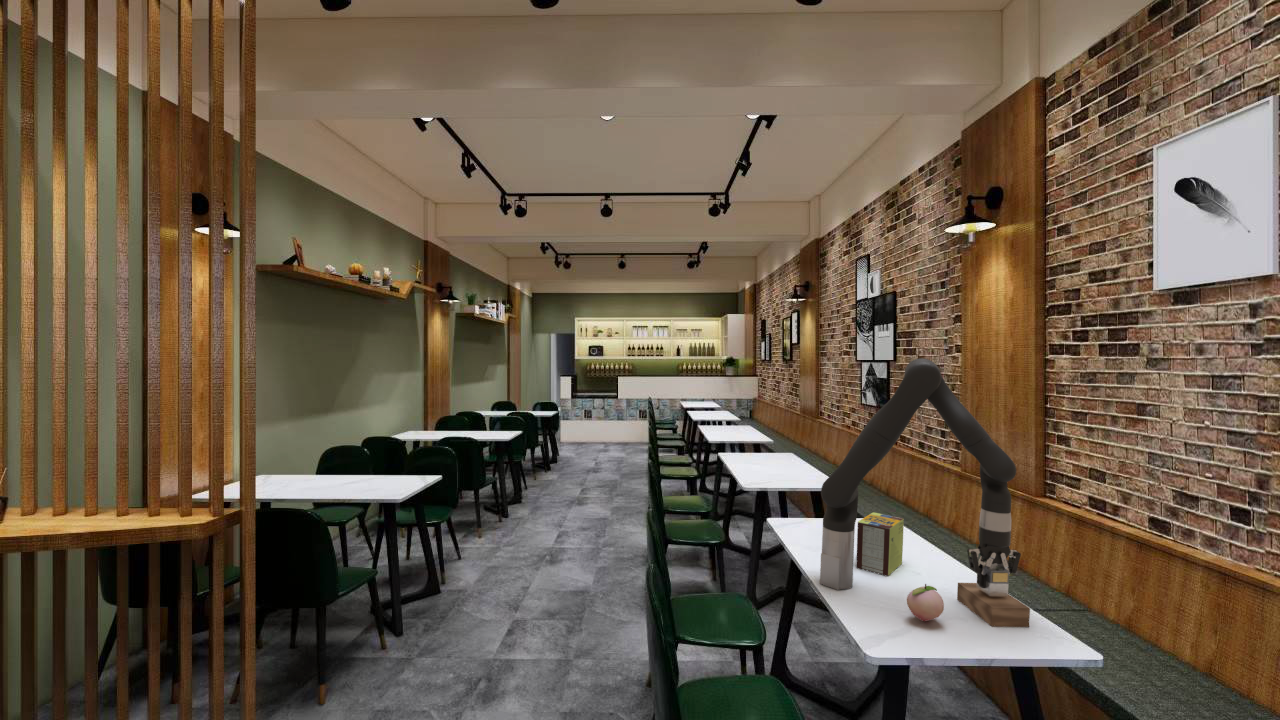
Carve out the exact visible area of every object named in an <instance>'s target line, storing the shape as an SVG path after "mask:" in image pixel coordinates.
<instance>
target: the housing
mask: <svg viewBox="0 0 1280 720" xmlns="http://www.w3.org/2000/svg"><path fill="white" fill-rule="evenodd" d="M985 563H986V561H985ZM978 564H979V562H978ZM982 568H983V566H982ZM985 575H986V588H981V587H980V586H979V585H978V584H977V586H976V587H977V588H979V589H980V590H982V591H983V592H984V593H986V594H987V595H989V596H1006V597H1008V594H1009V582H1010V581H1009V579H1010V575H1009V571H1008V570H1007V569H1004V568H1002V567H1001V566H999V565H997V563H995V564H991V566H990V568H987V572H986V574H985Z"/></svg>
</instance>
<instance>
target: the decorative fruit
mask: <svg viewBox="0 0 1280 720" xmlns="http://www.w3.org/2000/svg"><path fill="white" fill-rule="evenodd" d="M906 604H907V607H908V609H909V610H910V612H911V613H912V615H913V616H915V617H916V618H917V619H918V620H921V621H922V622H927V621H932V620H935V619H937V618H939V617H940V616H942V614H943V612H944V610H945V609H944V607H945V603H944V599H943V597H942V595H941V594H940V593H939V592H938V589H937V588H936V587H934V586H932V585H927V583H925V584H924V586H920V587H919V586H918V587H917V588H915V589H912V590H911V591H910V592H909V593H908V595H907V597H906Z"/></svg>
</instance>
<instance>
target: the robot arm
mask: <svg viewBox="0 0 1280 720" xmlns="http://www.w3.org/2000/svg"><path fill="white" fill-rule="evenodd" d="M903 374H904V375H903V378H902V380H901V382H900V384H899V385H898V387H897V388H896V391H894V394H893V395H892V397H891V398H890V399H889V400H888V401H887V402H886V403H884V405H883V406H882V407H881V408H880V409H878V410H877V411H876V413H874V415H873V416H872V417H871V418H870V419H869V421H868V422H867V423H866V424H865V426H864V428H863V429H862V430H861V432H860V433H859V434H858V437H856V439H855V441H854V442H853V444H852V446H851V447H850V449H849V451H848V453H847V454H846V456H845V457H844V459H843V460H842V462H841V463H840V464H839V465H838V466H837V468H836V469H835V470H834V471H833V472H832V473H831V474H830V476H829V477H828V478H826V479H825V481H824V482H823V483H822V485H821V488H820V489H821V490H820V495H821V498H822V500H823V502H824V504H825V505H826V509H825V513H824V515H823V518H822V538H821V541H822V542H821V553H820V567H819V568H820V569H819V571H820V574H819V584H820V585H822V584H823V586H826V587H828V588H831V589H834V590H837V591H840V590H848V589H851V588H852V587H853V582H854V555H855V554H854V553H855V534H856V533H855V531H856V529H855V527H856V521H857V518H858V517H857V516H858V506H859V485H861V482H862V480H864V478H865V477H866V476H867V474H869V472H870V471H871V470H873V469H874V468H875V467H876V466H877V465H878V464H879V463H880V462H881V461H882V460H883V459H884V458H885V457H886V456H887V454H888V453H889V452H890V451H891V449H892V448H893V447H894V445H895V444H896V443H897V442H898V440H899V439H900V437H901V435H902V434H903V432H904V431H905V429H906V428H907V426H908V425H909V423H910V421H911V419H912V418H913V417H914V415H915V414H916V412H917V410H919V408H921V406H922V405H923V404H924V403H925V402H926V401H928V402H929V403H930V404H931V405H932V406H933V407H934V409H935V410H936V411H937V413H938V414H939V415H940V417H941V419H942V420H943V421H944V423H945V424H946V426H947V427H948V429H949V430H950V431H951V433H952V434H953V435H954V436H955V438H956V439H957V440H958V442H959V443H960V444H961V445H962V447H964V449H965V450H966V451H967V452H968V453H969V454H971V455H972V456H973V458H975V459H976V460H977V462H978V463H979V477H980V485H981V486H980V487H981V503H980V505H981V507H980V513H979V522H978V523H979V524H978V525H979V526H978V542H979V544H978V546H977V548H974V549H972V548H967V557H968V563H969V568H970V570H972V571H974V572H975V573H976V583H977V584H978V585H979V586H980V587H981V588H986V575H985V574H986V572H987V568H990V566H991V564H995V563H997V565H999V566H1001V567H1002V568H1004V569H1007V570H1008V571H1009V576H1010V574H1016V573H1017V570H1018V566H1019V562H1020V559H1021V556H1022V553H1021V552H1019V551H1017V550H1016V549H1011V548H1010V546H1011V544H1012V543H1011V540H1012V539H1011V538H1012V537H1011V536H1012V522H1013V521H1012V494H1011V491H1009V488H1008V482H1010V481H1012V480H1013V479H1014V478H1015V477H1016V474H1017V466H1016V464H1015V462H1014V461H1013V460H1012V458H1011V457H1010V456H1009V455H1008V454H1007V452H1005V451H1004V450H1003V448H1001V447H1000V445H998V444H997V443H996V442H995V441H994V440H993V439H992V438H991V436H990V434H989V433H988V432H987V431H986V429H984V427H983V426H982V424H980V422H979V421H978V420H977V419H976V418H975V417H974V415H972V413H971V412H970V411H969V410H968V409H967V408H966V406H965V405H963V403H962V402H961V401H960V400H959V399H958V398H957V397H956V395H955V394H954V393H953V392H952V390H951V388H949V386H948V384H947V382H946V381H945V379H944V378H943V376H942V373H941V371H940V368H939V366H938V365H937V364H936V363H935V362H934V361H933V360H930V359H928V358H922V357H921V358H916V359H913V360H911V361H909V363H908V364H907V365H906V367H905V370H904V373H903ZM979 555H980V557H979ZM1007 558H1008V561H1007ZM978 562H979V564H978ZM985 562H986V563H985ZM982 566H983V568H982Z"/></svg>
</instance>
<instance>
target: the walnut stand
mask: <svg viewBox="0 0 1280 720" xmlns="http://www.w3.org/2000/svg"><path fill="white" fill-rule="evenodd" d="M976 586H977V582H957V590H956V591H957V592H956V593H957V597H956V598H957V599H956V600H957V602H959V603H961V604H962V606H965V608H967V609H969V610H970V611H971V612H972V613H974V614H975V615H976V616H978V617H979V618H981V620H983V621H984V622H985V623H986V624H988V625H989V626H990V627H997V628H998V627H1006V628H1008V627H1009V628H1011V627H1012V628H1015V627H1017V628H1030V617H1031V615H1030V614H1031V608H1030V607H1029V606H1027V605H1026V604H1024V603H1022V601H1020V600H1019V599H1017V598H1015V597H1014V596H1012V595H1010V594H1009V593H1008V597H1006V596H989V595H987V594H986V593H984V592H983V591H982V590H980V589H979V588H977V587H976Z"/></svg>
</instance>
